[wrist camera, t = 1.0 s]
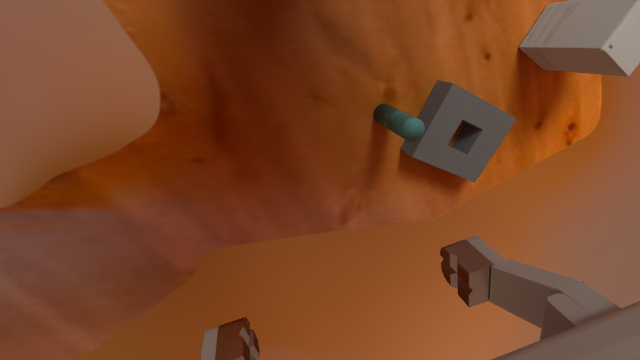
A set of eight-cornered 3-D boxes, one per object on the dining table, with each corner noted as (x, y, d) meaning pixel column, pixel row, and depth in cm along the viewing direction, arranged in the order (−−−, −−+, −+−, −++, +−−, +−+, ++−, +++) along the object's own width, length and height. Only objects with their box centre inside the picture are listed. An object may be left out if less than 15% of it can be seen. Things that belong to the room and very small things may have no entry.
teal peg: (379, 101, 46) (410, 115, 37) (394, 108, 47) (428, 123, 38) (370, 119, 47) (398, 137, 38) (385, 125, 48) (417, 144, 39)
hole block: (437, 80, 46) (453, 83, 43) (498, 113, 51) (516, 118, 48) (400, 148, 50) (412, 156, 46) (460, 173, 55) (474, 182, 51)
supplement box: (542, 71, 50) (628, 79, 38) (516, 47, 47) (600, 48, 36) (574, 28, 48) (674, 24, 36) (548, 0, 45) (648, -13, 34)
